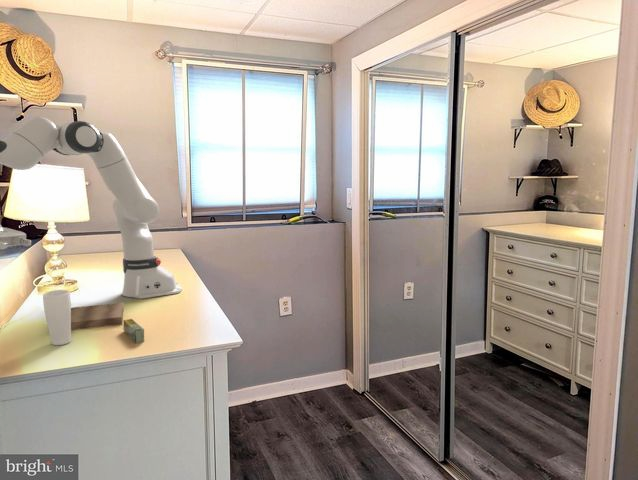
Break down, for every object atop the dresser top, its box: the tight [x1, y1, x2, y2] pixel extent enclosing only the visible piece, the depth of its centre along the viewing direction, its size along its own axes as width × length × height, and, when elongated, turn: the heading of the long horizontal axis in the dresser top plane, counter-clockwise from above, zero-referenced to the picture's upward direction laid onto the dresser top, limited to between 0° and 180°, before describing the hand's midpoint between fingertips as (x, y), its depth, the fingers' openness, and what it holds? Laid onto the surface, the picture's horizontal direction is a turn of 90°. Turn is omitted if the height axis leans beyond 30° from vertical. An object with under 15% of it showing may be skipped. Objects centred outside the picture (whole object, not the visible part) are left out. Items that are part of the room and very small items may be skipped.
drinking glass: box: [42, 289, 72, 346], centre depth 134 cm, size 7×7×15 cm
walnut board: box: [71, 302, 125, 331], centre depth 154 cm, size 20×16×2 cm
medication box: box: [123, 318, 145, 344], centre depth 140 cm, size 12×3×4 cm, turn 38°
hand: (18, 244), depth 133 cm, fingers open, 8 cm apart
